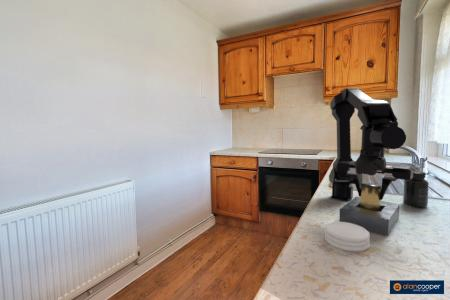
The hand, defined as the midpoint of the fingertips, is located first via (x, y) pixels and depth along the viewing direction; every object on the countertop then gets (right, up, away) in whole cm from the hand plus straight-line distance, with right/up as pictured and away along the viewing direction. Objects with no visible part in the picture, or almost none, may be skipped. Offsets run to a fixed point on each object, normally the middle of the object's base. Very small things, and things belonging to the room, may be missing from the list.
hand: (370, 198), depth 70 cm
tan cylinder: (0, -6, 0) cm, 6 cm away
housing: (0, -7, +1) cm, 7 cm away
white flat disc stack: (-13, -9, -11) cm, 19 cm away
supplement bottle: (+24, -6, +14) cm, 29 cm away
